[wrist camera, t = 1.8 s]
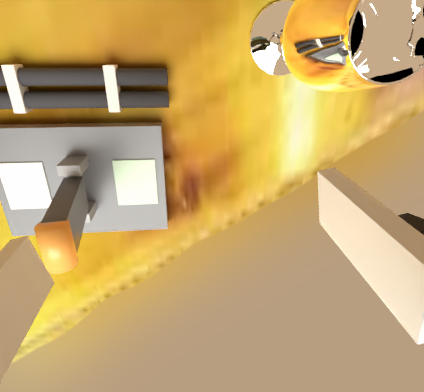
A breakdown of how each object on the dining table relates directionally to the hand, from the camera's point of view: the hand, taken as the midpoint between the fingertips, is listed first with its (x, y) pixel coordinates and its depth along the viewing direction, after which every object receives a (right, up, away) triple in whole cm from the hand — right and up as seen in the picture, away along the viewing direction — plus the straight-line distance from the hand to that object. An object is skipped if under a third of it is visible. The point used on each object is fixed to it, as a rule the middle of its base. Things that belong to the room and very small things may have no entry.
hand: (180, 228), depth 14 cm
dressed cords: (-15, +14, +20) cm, 28 cm away
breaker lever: (-14, +2, +21) cm, 26 cm away
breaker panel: (-15, +4, +25) cm, 29 cm away
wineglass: (+9, +19, +20) cm, 29 cm away
